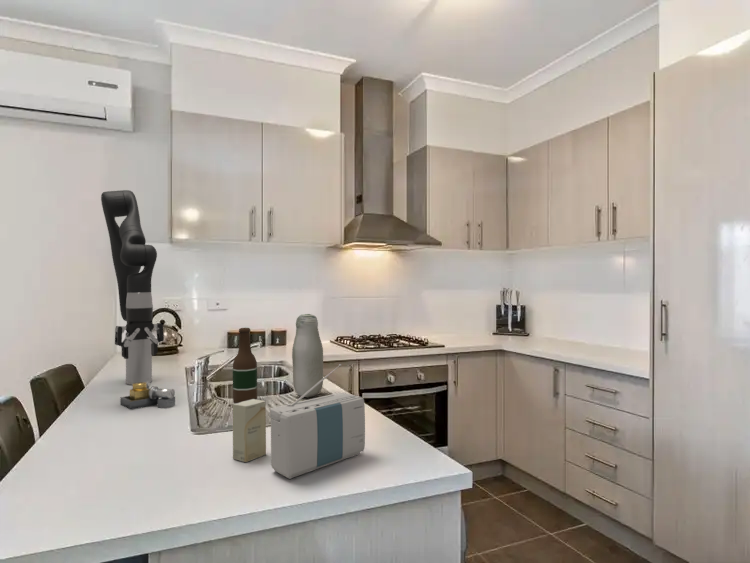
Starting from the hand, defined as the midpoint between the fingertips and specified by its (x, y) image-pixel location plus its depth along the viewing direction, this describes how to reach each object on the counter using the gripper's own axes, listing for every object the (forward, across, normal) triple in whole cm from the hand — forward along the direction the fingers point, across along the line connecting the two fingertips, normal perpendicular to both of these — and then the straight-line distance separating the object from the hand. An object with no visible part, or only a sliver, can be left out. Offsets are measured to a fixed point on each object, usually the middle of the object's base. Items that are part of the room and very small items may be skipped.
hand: (140, 356), depth 155 cm
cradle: (+15, 0, 0) cm, 15 cm away
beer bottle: (+15, +24, -22) cm, 37 cm away
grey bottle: (+15, +42, -32) cm, 55 cm away
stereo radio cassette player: (+15, +6, -82) cm, 83 cm away
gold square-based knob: (+14, 0, 0) cm, 15 cm away
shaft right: (+15, +4, -7) cm, 17 cm away
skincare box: (+15, -2, -67) cm, 69 cm away
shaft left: (+15, +4, +7) cm, 17 cm away
